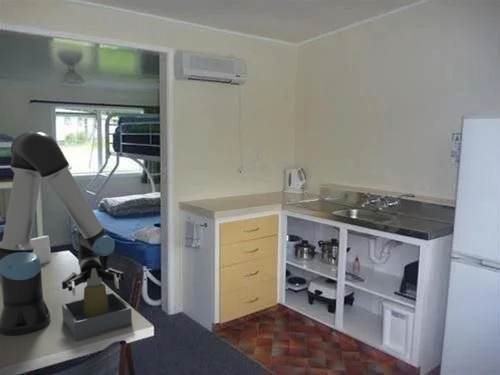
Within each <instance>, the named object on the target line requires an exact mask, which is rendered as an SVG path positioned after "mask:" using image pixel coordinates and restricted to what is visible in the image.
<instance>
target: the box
mask: <svg viewBox="0 0 500 375" xmlns="http://www.w3.org/2000/svg"><path fill="white" fill-rule="evenodd" d="M106 294H107V300H108V306H109V309H108V313H107V314H103V315H99V316H95V317H91V318H88V319H86V317H85V315H84V313H83V305H84V298H82V299H78V300H73V301H69V302H65V303H61V312H62V322H63V323H64V324H65V327H66V329H68V331H69V333H70V334H71V336H72V338H73V339H74V341H75V342H78V341H82V340H87V339H90V338H93V337H97V336H100V335H103V334H107V333H111V332H115V331H118V330H122V329H125V328H128V327H132V326H133V320H132V319H133V318H132V308H131V306H129V305H128V303H126V301H124V300H123V299H122V298H121V297H120V296H119V295H118V294H117V293H116V292H115V291H113V292H108V293H106Z"/></svg>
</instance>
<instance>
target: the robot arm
mask: <svg viewBox="0 0 500 375" xmlns="http://www.w3.org/2000/svg"><path fill="white" fill-rule="evenodd" d="M10 153H11V156H12V157H11V160H10V169H11V171H12V172H13V173H14V174H13V179H12V184H11V186H12V187H11V191H10V197H9V202H8V208H7V214H6V218H5V219H6V220H5V226H4V231H3V235H2V236H3V237H2V240H1V241H0V286H1V295H2V305H3V306H2V309H1V310H2V311H1V313H0V333H1V334H2V335H7V336H8V335H9V336H17V335H25V334H29V333H33V332H35V331H36V332H37V331H39V330H40V329H43V328H45V327H46V326H47V325H49V324H50V323H51V312H50V310H49V308H48V306H47V305H46V302H45V300H44V294H43V293H44V292H43V278H42V263H41V262H40V258H39V257H38V255H36V254H34V253H33V250H34V247H33V246H32V244H31V243H30V240H31V239H32V232H33V229H34V228H33V227H34V221H35V217H36V210H37V204H38V198H39V193H40V188H41V183H42V179H46V180H47V181H48V183H49V185H50V186H51V188H52V190H53V191H54V192H55V194H56V196H57V198H58V199H59V200H60V202H61V204H62V205H63V208H65V210H66V212H67V213H68V215H69V216H70V218H71V220H72V222H73V223H74V225H75V226H76V236H77V237H76V240H77V249H78V252H77V253H78V258H77V260H78V266H79V270H80V273H78V274H77V273H76V272H72V273H71V274H70V275H69V276H68V277H66V278H65V279H63V280H62V281H61V288H62V290H66V289H67V290H68V291H69V292H72V296H73V297H74V296H76V287H77V286H79V285H80V284H85V283H87V279H89V278H90V277H91V271H92V268H96V271H97V275H98V277H101V278H102V281H104V280H106V281H112V282H114V285H115V288H116V289H120V284H121V283H122V281H125V272H123V271H121V270H117V269H113V267H110V266H109V267H108V268H107V269H104V268H103V266H102V263H101V262H100V256H101V257H105V256H109V255H111V253H112V252H114V250H115V246H116V245H115V244H116V243H115V241H114V238H112V237H111V236H110V235H109V234H107V232H106V230H105V229H104V227H103V225H102V224H101V222H100V220H99V219H98V217H97V214H96V213H95V212H94V210H93V208H92V206H91V205H90V203H89V201H88V199H87V198H86V195H84V193H83V191H82V189H81V188H80V186H79V185H78V183H77V181H76V179H75V177H74V176H73V174H72V173H71V171H70V169H69V166H70V164H69V163H70V162H69V161H68V159H67V158H66V156H65V154H64V152H63V151H62V149H61V147H60V146H59V144H58V142H57V141H56V140H55V139H54V138H53V137H52V136H50V135H49V134H47V133H45V132H37V131H35V132H32V131H31V132H24V133H20V134H19V135H18V136H16V137H15V138H14V140H13V141H12V142H11V144H10Z"/></svg>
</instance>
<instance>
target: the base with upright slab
mask: <svg viewBox="0 0 500 375" xmlns="http://www.w3.org/2000/svg"><path fill="white" fill-rule="evenodd" d="M30 243H31V244H32V246H33V247H34V250H33V253H34V254H36V255H38V257H39V258H40V262H41V264H46V263H49V262H51V261H52V254H51V251H52V250H51V245H50V244H51V243H50V236H49V235H43V236H39V237H38V236H37V237H33V238H31V240H30Z"/></svg>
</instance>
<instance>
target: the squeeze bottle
mask: <svg viewBox="0 0 500 375" xmlns="http://www.w3.org/2000/svg"><path fill="white" fill-rule="evenodd" d="M107 294H108V293H107V289H106V285H105V283H103V280H102V278H101V277H98V275H97V271H96V268H92V271H91V277H90V278H89V279H87V282H86V285H85V287H84V289H83V299H84V305H83V313H84V315H85V317H86V319H88V318H91V317H95V316H99V315H103V314H107V313H108V309H109V306H108V300H107Z"/></svg>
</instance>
